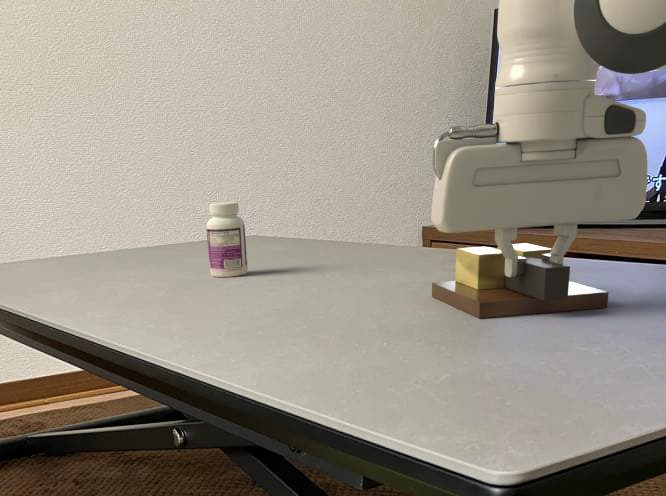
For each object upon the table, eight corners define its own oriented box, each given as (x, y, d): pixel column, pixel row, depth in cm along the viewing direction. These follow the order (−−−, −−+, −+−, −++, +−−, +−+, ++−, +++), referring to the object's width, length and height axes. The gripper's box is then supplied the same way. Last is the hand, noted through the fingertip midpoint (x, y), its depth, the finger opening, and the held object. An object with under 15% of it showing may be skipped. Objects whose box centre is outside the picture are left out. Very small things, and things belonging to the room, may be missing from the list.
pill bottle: (220, 272, 131) (214, 201, 128) (253, 272, 129) (249, 200, 126) (203, 277, 127) (197, 204, 123) (238, 277, 125) (233, 203, 121)
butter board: (543, 287, 102) (546, 241, 100) (607, 307, 88) (612, 254, 86) (431, 296, 100) (432, 249, 98) (478, 318, 87) (481, 264, 85)
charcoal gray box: (568, 299, 84) (570, 264, 83) (543, 301, 84) (545, 266, 83) (497, 276, 101) (498, 246, 100) (476, 277, 101) (477, 247, 99)
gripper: (444, 126, 79) (441, 287, 85) (663, 112, 81) (646, 270, 87) (423, 128, 85) (421, 279, 91) (628, 115, 87) (614, 263, 93)
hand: (533, 274), depth 89 cm, fingers closed on charcoal gray box, 2 cm apart
